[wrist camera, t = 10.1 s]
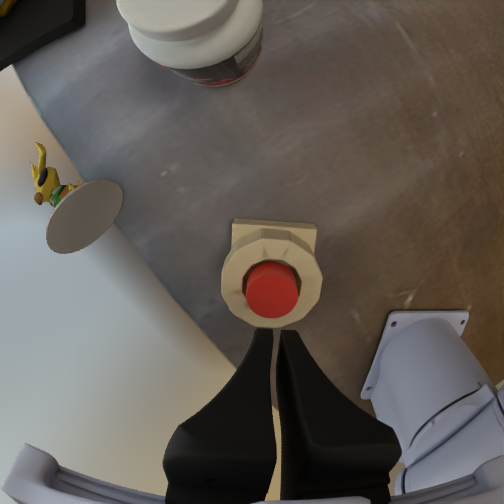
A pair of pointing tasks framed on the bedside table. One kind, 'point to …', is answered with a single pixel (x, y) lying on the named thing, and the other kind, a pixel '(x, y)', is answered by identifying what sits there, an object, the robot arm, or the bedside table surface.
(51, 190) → the figurine
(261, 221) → the button box
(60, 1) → the cassette tape
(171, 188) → the bedside table surface
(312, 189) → the bedside table surface
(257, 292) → the button
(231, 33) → the pill bottle
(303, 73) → the bedside table surface
